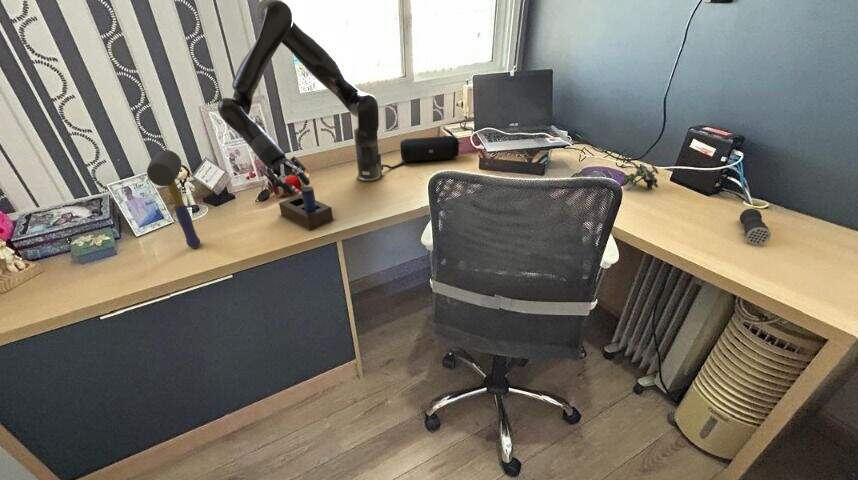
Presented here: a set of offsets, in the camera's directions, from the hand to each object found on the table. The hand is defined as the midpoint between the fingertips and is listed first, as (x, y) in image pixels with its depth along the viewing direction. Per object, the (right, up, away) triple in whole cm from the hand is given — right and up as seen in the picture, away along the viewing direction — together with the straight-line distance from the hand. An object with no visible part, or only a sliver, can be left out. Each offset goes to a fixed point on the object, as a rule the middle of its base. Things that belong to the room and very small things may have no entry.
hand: (300, 188), depth 141 cm
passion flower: (+124, +4, +17) cm, 125 cm away
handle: (+3, -10, +5) cm, 12 cm away
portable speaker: (+47, +25, +51) cm, 74 cm away
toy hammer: (-7, +3, +23) cm, 24 cm away
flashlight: (+142, -17, -13) cm, 143 cm away
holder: (+1, -9, +8) cm, 12 cm away
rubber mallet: (-33, -20, -6) cm, 39 cm away
